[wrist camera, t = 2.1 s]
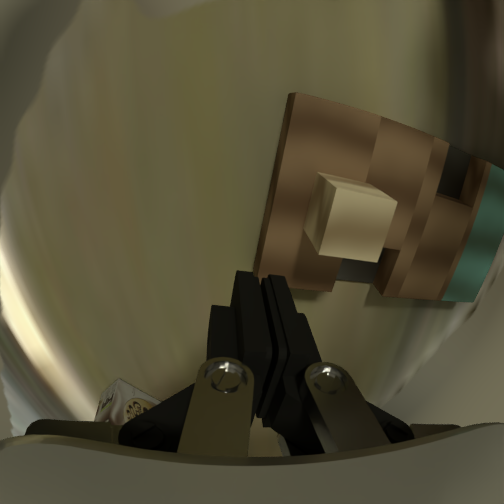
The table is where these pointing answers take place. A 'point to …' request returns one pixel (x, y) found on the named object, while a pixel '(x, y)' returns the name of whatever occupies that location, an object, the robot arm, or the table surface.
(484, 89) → the table surface
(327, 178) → the birch block
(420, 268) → the trap board
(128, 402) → the coffee box
